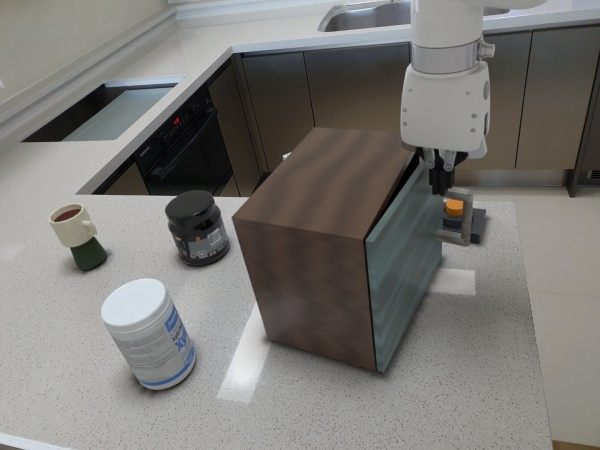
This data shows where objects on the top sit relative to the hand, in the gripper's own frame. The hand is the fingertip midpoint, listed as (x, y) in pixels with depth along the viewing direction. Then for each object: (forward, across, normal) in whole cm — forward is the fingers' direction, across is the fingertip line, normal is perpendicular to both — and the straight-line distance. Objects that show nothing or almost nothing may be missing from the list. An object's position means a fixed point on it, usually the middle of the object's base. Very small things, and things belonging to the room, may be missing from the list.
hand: (441, 190), depth 63 cm
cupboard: (+21, +14, +5) cm, 26 cm away
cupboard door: (+21, 0, +4) cm, 21 cm away
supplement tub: (+21, +34, +30) cm, 50 cm away
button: (+17, +3, -19) cm, 26 cm away
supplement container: (+21, +47, +5) cm, 52 cm away
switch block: (+21, +3, -19) cm, 29 cm away
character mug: (+21, +69, +17) cm, 74 cm away
